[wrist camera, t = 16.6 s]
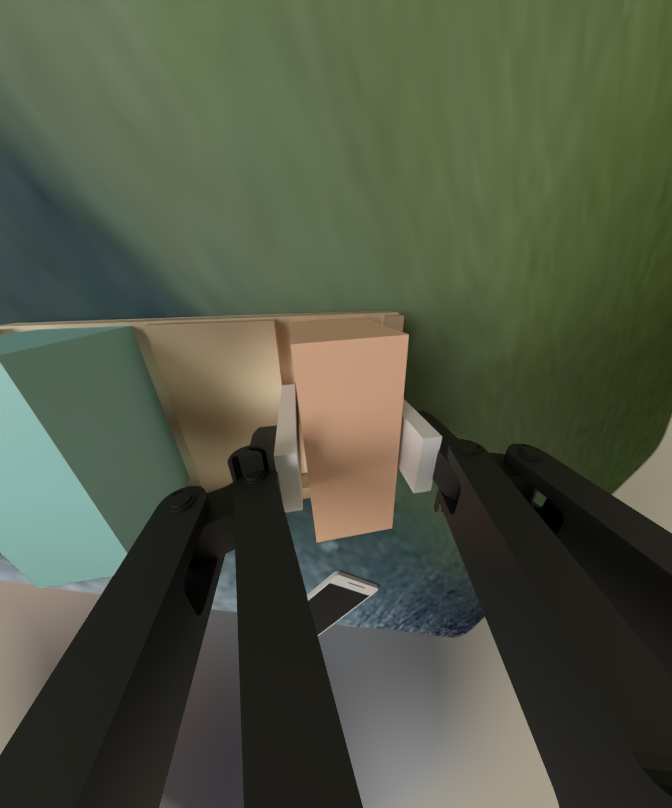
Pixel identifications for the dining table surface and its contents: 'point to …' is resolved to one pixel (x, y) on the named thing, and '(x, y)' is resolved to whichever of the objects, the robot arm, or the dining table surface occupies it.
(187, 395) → the light wood flat tray
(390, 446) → the salmon block
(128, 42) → the dining table surface
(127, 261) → the dining table surface
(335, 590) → the smartphone
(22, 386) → the aqua upright block
